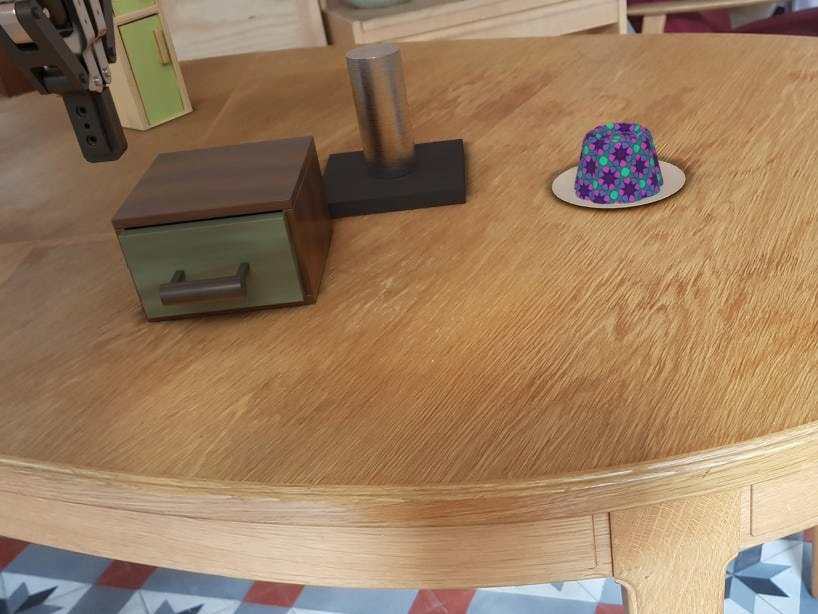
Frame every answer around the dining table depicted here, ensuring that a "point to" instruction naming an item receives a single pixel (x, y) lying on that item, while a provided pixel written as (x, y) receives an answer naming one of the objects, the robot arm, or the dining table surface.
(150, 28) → the toy refrigerator
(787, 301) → the dining table surface
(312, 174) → the cabinet
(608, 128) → the pudding
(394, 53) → the brushed steel cylinder
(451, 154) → the black rectangular block
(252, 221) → the drawer
